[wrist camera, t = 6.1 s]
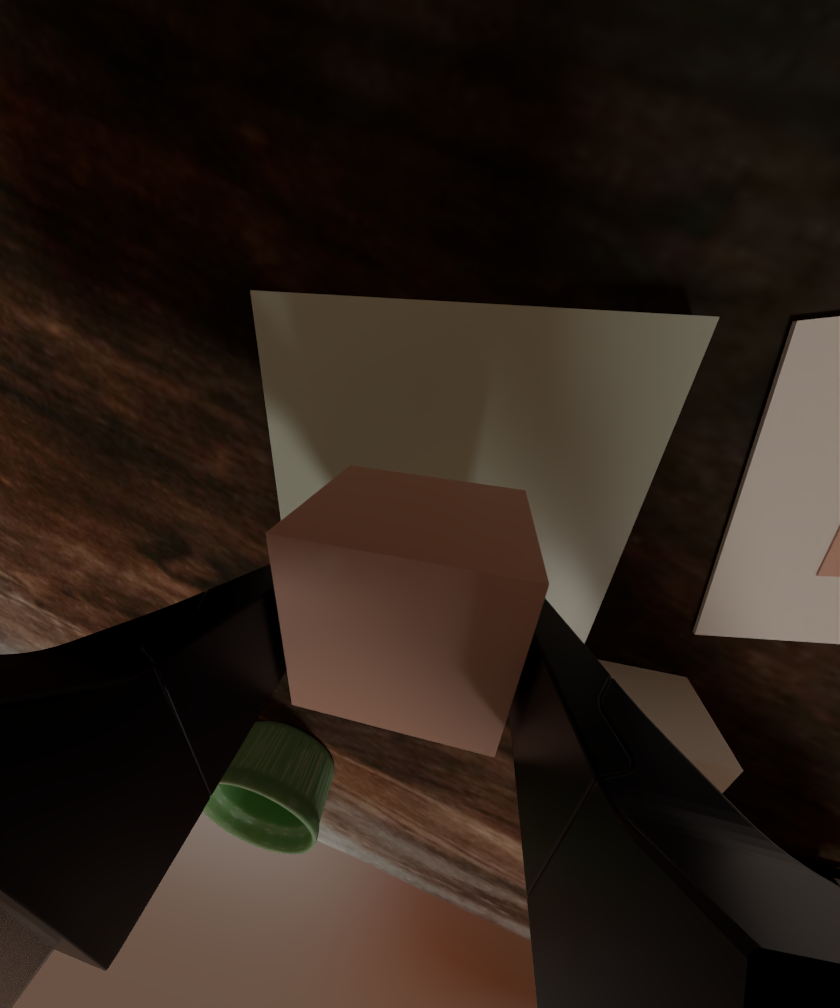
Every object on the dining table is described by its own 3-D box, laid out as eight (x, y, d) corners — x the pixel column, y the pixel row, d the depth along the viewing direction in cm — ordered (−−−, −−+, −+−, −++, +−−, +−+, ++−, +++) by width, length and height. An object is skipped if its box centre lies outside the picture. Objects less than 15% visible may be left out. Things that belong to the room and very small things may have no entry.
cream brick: (646, 735, 18) (685, 832, 14) (551, 714, 18) (566, 800, 15) (685, 674, 15) (743, 770, 12) (575, 652, 16) (599, 737, 13)
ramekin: (223, 705, 25) (174, 770, 21) (332, 724, 23) (300, 799, 19) (254, 771, 29) (217, 837, 25) (349, 792, 27) (325, 866, 23)
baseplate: (569, 646, 16) (574, 667, 15) (304, 593, 18) (292, 609, 17) (694, 320, 10) (719, 316, 9) (271, 295, 12) (249, 290, 11)
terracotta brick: (493, 625, 11) (494, 757, 7) (352, 597, 12) (292, 704, 8) (525, 490, 9) (549, 584, 5) (350, 465, 9) (265, 533, 6)
